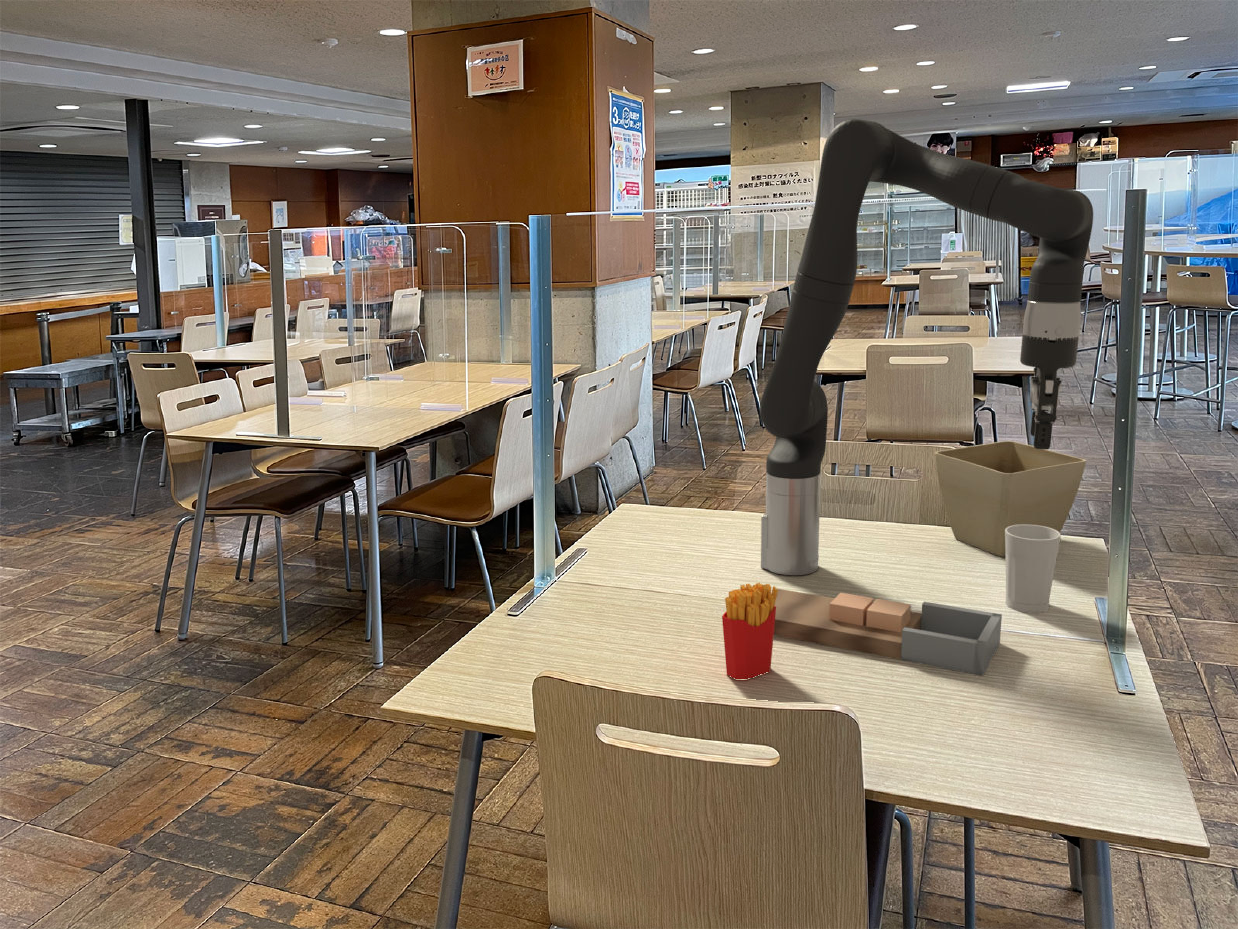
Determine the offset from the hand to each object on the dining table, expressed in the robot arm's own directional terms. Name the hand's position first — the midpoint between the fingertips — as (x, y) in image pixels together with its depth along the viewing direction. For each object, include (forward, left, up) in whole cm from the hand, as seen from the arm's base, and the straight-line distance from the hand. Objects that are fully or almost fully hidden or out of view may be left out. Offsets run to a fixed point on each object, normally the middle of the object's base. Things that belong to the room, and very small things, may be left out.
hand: (1039, 442), depth 151 cm
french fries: (-29, -39, -27) cm, 56 cm away
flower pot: (-9, +33, -27) cm, 44 cm away
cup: (0, +3, -27) cm, 27 cm away
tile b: (-16, -20, -24) cm, 35 cm away
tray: (-7, -20, -27) cm, 34 cm away
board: (-24, -20, -27) cm, 41 cm away
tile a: (-21, -20, -24) cm, 38 cm away
